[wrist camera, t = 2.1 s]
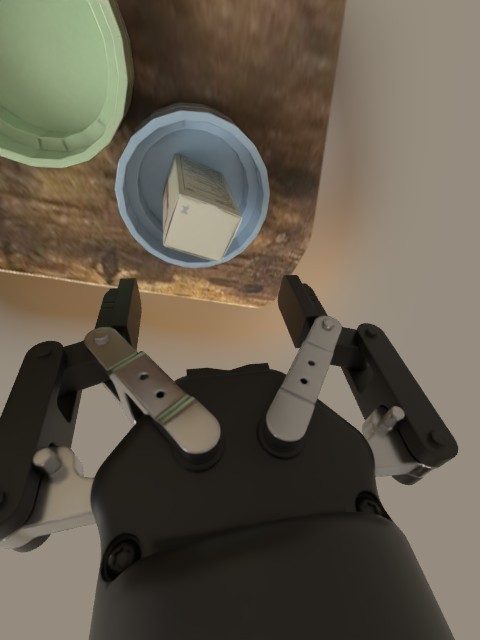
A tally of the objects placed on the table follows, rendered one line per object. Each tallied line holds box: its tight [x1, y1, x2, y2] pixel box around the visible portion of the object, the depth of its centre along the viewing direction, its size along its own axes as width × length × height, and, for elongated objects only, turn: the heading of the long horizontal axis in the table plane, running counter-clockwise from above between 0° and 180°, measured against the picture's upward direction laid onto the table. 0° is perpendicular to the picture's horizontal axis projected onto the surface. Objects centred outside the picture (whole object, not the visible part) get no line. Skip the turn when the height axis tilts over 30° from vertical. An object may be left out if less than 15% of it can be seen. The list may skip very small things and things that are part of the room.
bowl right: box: [115, 102, 270, 267], centre depth 27 cm, size 13×13×5 cm
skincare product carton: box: [163, 154, 243, 262], centre depth 25 cm, size 5×4×10 cm
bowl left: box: [0, 0, 135, 168], centre depth 19 cm, size 13×13×5 cm
